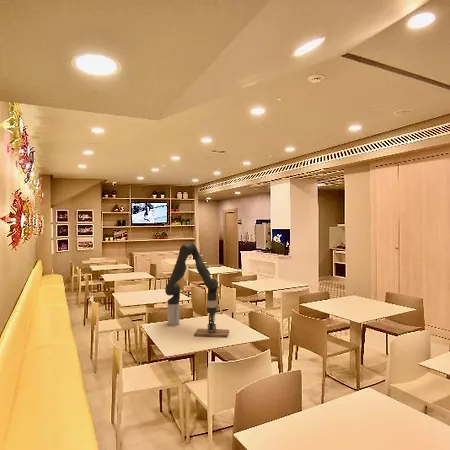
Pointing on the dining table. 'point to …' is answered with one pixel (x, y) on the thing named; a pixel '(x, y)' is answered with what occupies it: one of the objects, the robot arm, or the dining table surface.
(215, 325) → the steel ring
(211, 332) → the post base
